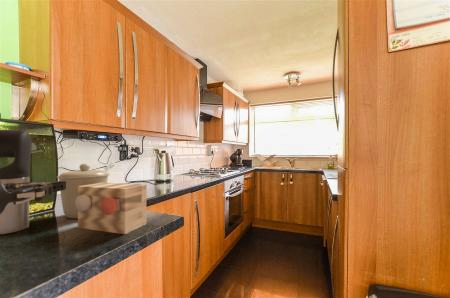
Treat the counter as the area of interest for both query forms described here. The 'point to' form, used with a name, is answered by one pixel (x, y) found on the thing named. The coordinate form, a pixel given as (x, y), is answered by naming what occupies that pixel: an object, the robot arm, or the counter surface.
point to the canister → (72, 183)
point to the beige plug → (83, 202)
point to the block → (120, 220)
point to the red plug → (110, 205)
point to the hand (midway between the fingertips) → (63, 185)
